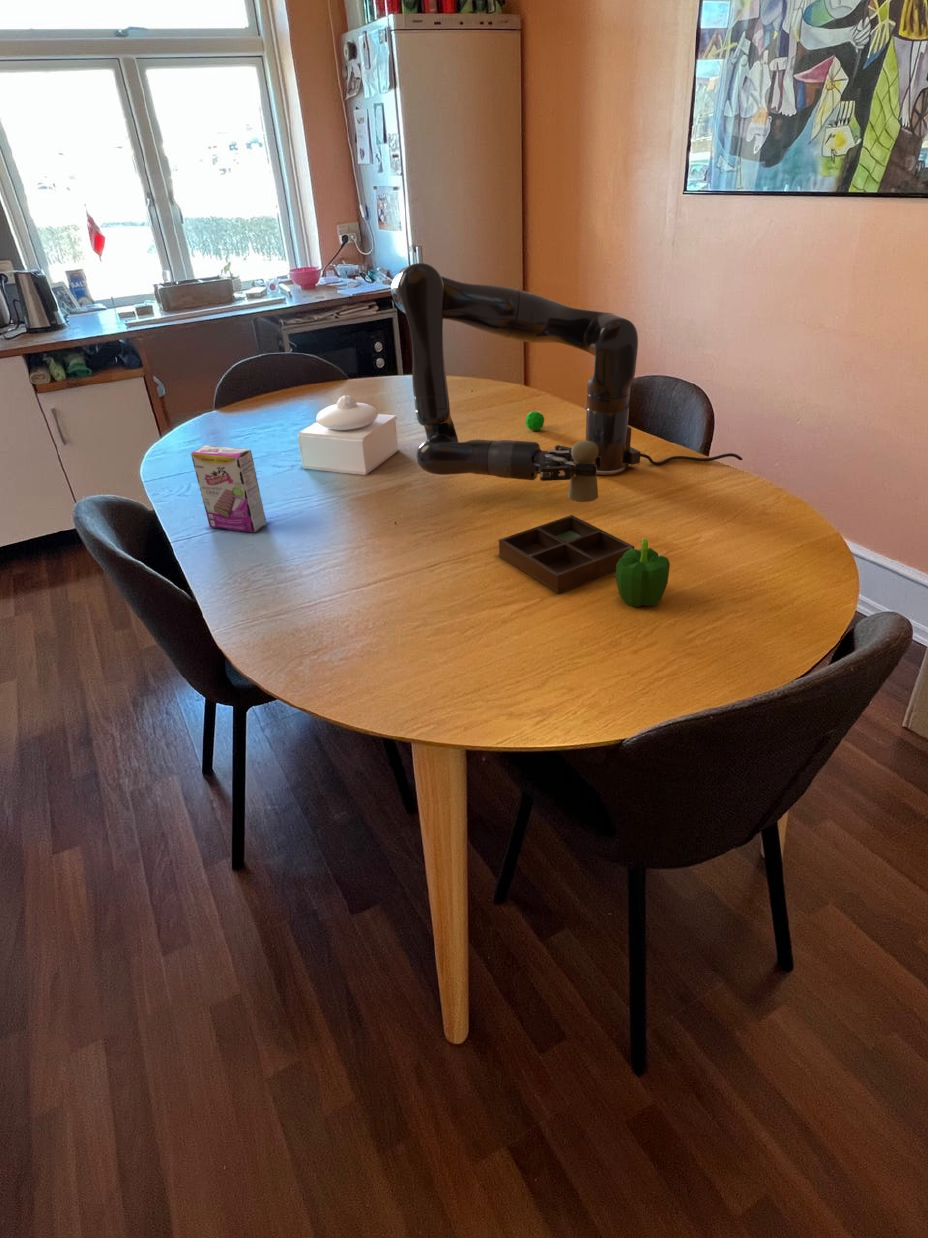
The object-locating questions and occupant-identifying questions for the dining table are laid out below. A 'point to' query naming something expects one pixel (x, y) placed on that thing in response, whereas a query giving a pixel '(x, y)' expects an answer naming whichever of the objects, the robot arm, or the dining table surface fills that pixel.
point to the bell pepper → (642, 576)
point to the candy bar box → (229, 488)
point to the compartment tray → (563, 552)
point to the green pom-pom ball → (534, 421)
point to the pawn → (584, 485)
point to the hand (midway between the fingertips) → (598, 466)
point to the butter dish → (348, 438)
